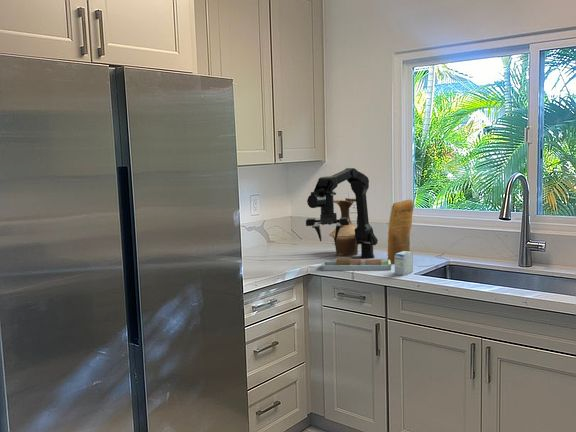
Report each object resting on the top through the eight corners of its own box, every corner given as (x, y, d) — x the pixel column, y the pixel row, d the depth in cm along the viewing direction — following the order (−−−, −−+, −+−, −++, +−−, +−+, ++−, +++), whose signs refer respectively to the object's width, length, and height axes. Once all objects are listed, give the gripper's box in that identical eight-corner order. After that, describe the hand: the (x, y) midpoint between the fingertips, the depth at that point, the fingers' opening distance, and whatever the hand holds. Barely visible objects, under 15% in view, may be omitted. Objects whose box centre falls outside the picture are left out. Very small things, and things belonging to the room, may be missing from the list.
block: (336, 267, 257) (336, 257, 257) (350, 267, 256) (350, 257, 256) (336, 269, 252) (336, 259, 252) (350, 269, 251) (349, 259, 251)
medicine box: (403, 271, 244) (403, 250, 243) (413, 272, 241) (413, 251, 240) (394, 274, 238) (394, 253, 237) (404, 275, 235) (403, 254, 234)
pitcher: (364, 250, 295) (363, 196, 292) (365, 257, 278) (364, 199, 275) (329, 251, 296) (328, 197, 293) (329, 257, 280) (327, 200, 277)
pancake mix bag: (419, 259, 268) (418, 199, 265) (393, 265, 255) (392, 202, 252) (407, 257, 273) (406, 198, 270) (381, 263, 260) (380, 202, 257)
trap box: (323, 264, 264) (323, 258, 264) (389, 263, 260) (389, 258, 260) (321, 270, 251) (320, 264, 250) (391, 269, 247) (390, 264, 246)
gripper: (303, 208, 245) (305, 244, 247) (348, 207, 243) (348, 243, 245) (306, 205, 256) (307, 240, 258) (348, 204, 254) (349, 239, 256)
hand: (328, 241), depth 254 cm, fingers open, 6 cm apart
